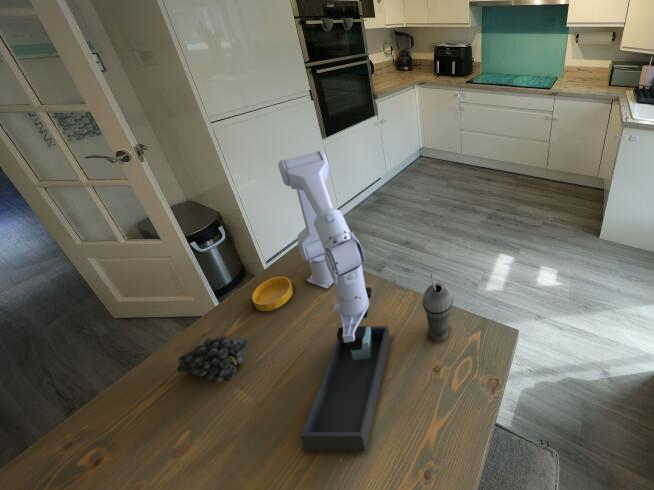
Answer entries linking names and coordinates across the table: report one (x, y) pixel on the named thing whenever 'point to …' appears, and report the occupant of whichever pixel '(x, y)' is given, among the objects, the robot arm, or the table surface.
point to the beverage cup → (437, 309)
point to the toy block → (364, 347)
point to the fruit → (214, 359)
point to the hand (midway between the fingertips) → (359, 332)
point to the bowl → (272, 293)
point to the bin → (346, 397)
